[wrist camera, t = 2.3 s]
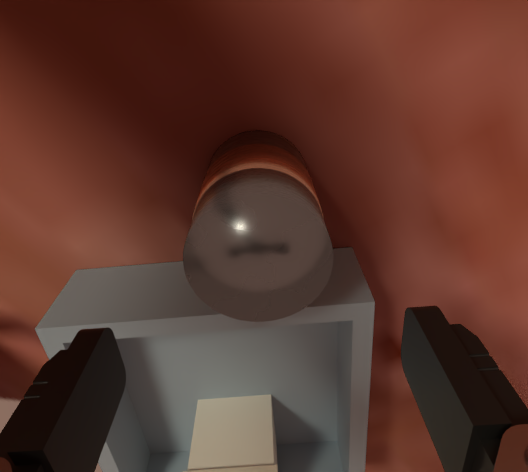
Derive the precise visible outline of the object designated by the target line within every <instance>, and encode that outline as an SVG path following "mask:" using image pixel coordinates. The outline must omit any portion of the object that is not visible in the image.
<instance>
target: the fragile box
mask: <svg viewBox="0 0 528 472" xmlns="http://www.w3.org/2000/svg"><path fill="white" fill-rule="evenodd" d="M265 465H277V445H276V434H275V425H274V416H273V407H272V398H271V394H269V395H256V396H242V397H229V398H215V399H202V400H198V402H197V409H196V416H195V422H194V429H193V436H192V442H191V449H190V456H189V462H188V469H187V471H193V470H207V469H222V468H236V467H250V466H265ZM277 467H278V465H277Z"/></svg>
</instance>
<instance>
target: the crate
mask: <svg viewBox="0 0 528 472" xmlns="http://www.w3.org/2000/svg"><path fill="white" fill-rule="evenodd" d="M333 256H334V259H333V268H332V272H331V276H330V278H329V281H328V283H327V285H326V286H325V288H324V290H323V291H322V292H321V294H320V295H319V296H318V297H317V298H316V299H315V300H314V301H313V302H312V303H311V304H309V305H308V306H307V307H306V308H304V309H302V310H301V311H299V312H297V313H295V314H293V315H291V316H288V317H285V318H282V319H278V320H273V321H266V322H251V321H243V320H238V319H234V318H231V317H228V316H225V315H223V314H221V313H219V312H217V311H215V310H213V309H212V308H211V307H209V306H208V305H206V304H205V303H204V302H203V301H202V300H201V299H200V298H199V297H198V296H197V295H196V294H195V292H194V291H193V289H192V288H191V286H190V284H189V282H188V280H187V278H186V274H185V271H184V265H183V261H179V262H167V263H155V264H143V265H131V266H119V267H107V268H95V269H83V270H76V271H75V273H74V274H73V275H72V277H71V278H70V280H69V281H68V283H67V284H66V285H65V287H64V288H63V290H62V291H61V293H60V294H59V295H58V297H57V298H56V300H55V301H54V302H53V304H52V305H51V307H50V308H49V310H48V311H47V312H46V314H45V315H44V317H43V318H42V320H41V321H40V322H39V324H38V325H37V327H36V328H35V330H36V333H37V335H38V337H39V339H40V341H41V343H42V345H43V347H44V349H45V352H46V354H47V356H48V358H49V360H50V359H51V358H52V357H53V356H54V355H55V354H57V353H58V352H59V351H60V350H67V349H68V348H69V346H70V344H71V343H72V341H73V339H74V337H75V336H76V334H77V333H78V331H80V330H81V329H93V328H111V329H112V331H113V333H114V336H115V339H116V342H117V345H118V348H119V351H120V354H121V357H122V360H123V363H124V366H125V370H126V384H125V389H124V393H123V395H122V398H121V401H120V404H119V406H118V409H117V412H116V414H115V417H114V420H113V423H112V425H111V428H110V431H109V433H108V436H107V439H106V442H105V444H104V447H103V450H102V452H101V455H100V458H99V461H98V463H99V465H100V468H101V470H102V472H183V471H187V469H188V462H189V456H190V449H191V442H192V436H193V429H194V422H195V416H196V409H197V402H198V400H202V399H215V398H229V397H242V396H256V395H269V394H271V398H272V407H273V416H274V425H275V434H276V445H277V465H278V472H365V463H366V446H367V429H368V412H369V395H370V378H371V361H372V344H373V327H374V310H375V301H374V298H373V296H372V294H371V291H370V289H369V286H368V284H367V282H366V279H365V277H364V274H363V272H362V270H361V267H360V265H359V262H358V260H357V257H356V255H355V253H354V250H353V248H352V247H347V248H335V249H333Z"/></svg>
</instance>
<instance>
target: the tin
mask: <svg viewBox="0 0 528 472" xmlns="http://www.w3.org/2000/svg"><path fill="white" fill-rule="evenodd" d="M333 259H334V256H333V247H332V243H331V240H330V237H329V234H328V231H327V228H326V225H325V222H324V217H323V213H322V209H321V206H320V203H319V200H318V197H317V194H316V191H315V188H314V185H313V182H312V180H311V177H310V175H309V173H308V171H307V168H306V165H305V162H304V160H303V157H302V156H301V154H300V152H299V151H298V150H297V148H296V147H295V146H294V145H293V144H292V143H291V142H289V141H288V140H287V139H285V138H283V137H282V136H280V135H277V134H275V133H272V132H268V131H260V130H259V131H247V132H243V133H240V134H237V135H235V136H233V137H231V138H230V139H228V140H227V141H225V142H224V143H223V144H222V145H221V146H220V147H219V148H218V149H217V151H216V152H215V154H214V155H213V157H212V159H211V161H210V164H209V167H208V171H207V173H206V175H205V177H204V180H203V183H202V186H201V190H200V193H199V196H198V199H197V202H196V205H195V209H194V212H193V217H192V223H191V226H190V229H189V232H188V236H187V239H186V242H185V246H184V251H183V265H184V271H185V274H186V278H187V280H188V282H189V284H190V286H191V288H192V289H193V291H194V292H195V294H196V295H197V296H198V297H199V298H200V299H201V300H202V301H203V302H204V303H205V304H206V305H208V306H209V307H211V308H212V309H213V310H215V311H217V312H219V313H221V314H223V315H225V316H228V317H231V318H234V319H238V320H243V321H251V322H266V321H273V320H278V319H282V318H285V317H288V316H291V315H293V314H295V313H297V312H299V311H301V310H302V309H304V308H306V307H307V306H308V305H309V304H311V303H312V302H313V301H314V300H315V299H316V298H317V297H318V296H319V295H320V294H321V292H322V291H323V290H324V288H325V286H326V285H327V283H328V281H329V278H330V276H331V272H332V268H333Z"/></svg>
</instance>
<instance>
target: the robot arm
mask: <svg viewBox="0 0 528 472" xmlns="http://www.w3.org/2000/svg"><path fill="white" fill-rule="evenodd" d="M401 360H402V366H403V370H404V373H405V376H406V378H407V381H408V383H409V386H410V388H411V390H412V393H413V395H414V398H415V400H416V402H417V405H418V407H419V410H420V412H421V414H422V417H423V419H424V422H425V424H426V427H427V429H428V431H429V434H430V436H431V439H432V441H433V443H434V446H435V448H436V451H437V453H438V456H439V458H440V460H441V463H442V465H443V468H444V470H445V472H528V409H527V407H526V406H525V404H524V403H523V401H522V400H521V398H520V397H519V396H518V394H517V393H516V391H515V390H514V388H513V387H512V386H511V384H510V383H509V381H508V380H507V378H506V377H505V375H504V374H503V373H502V371H501V370H499V369H498V365H497V364H496V363H495V361H494V360H493V358H492V357H490V356H489V352H488V351H487V350H486V348H485V347H484V345H483V344H482V342H481V341H480V340H479V338H478V337H477V336H476V335H474V334H473V333H472V332H470V331H469V330H468V329H466V328H465V327H464V326H462V325H461V324H451V325H450V324H449V323H448V321H447V320H446V318H445V317H444V315H443V313H442V312H441V310H440V309H439V308H438V307H437V306H425V307H410V308H407V309H406V311H405V317H404V327H403V336H402V345H401ZM125 384H126V370H125V366H124V363H123V360H122V357H121V354H120V351H119V348H118V345H117V342H116V339H115V336H114V333H113V331H112V329H111V328H93V329H81V330H80V331H78V333H77V334H76V336H75V337H74V339H73V341H72V343H71V344H70V346H69V348H68V349H67V350H60V351H59V352H58V353H57V354H55V355H54V356H53V357H52V358H51V359H50V360H49V361H48V362H46V363H45V364H44V365H43V367H42V368H41V370H40V372H39V373H38V375H37V376H36V378H35V380H34V381H33V385H31V386H30V387H29V389H28V391H27V392H26V394H25V395H24V400H21V402H20V403H19V405H18V407H17V408H16V410H15V411H14V413H13V415H12V416H11V418H10V419H9V421H8V422H7V424H6V426H5V427H4V429H3V430H2V432H1V433H0V472H94V471H95V469H96V466H97V463H98V461H99V458H100V455H101V452H102V450H103V447H104V444H105V442H106V439H107V436H108V433H109V431H110V428H111V425H112V423H113V420H114V417H115V414H116V412H117V409H118V406H119V404H120V401H121V398H122V395H123V393H124V389H125Z"/></svg>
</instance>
